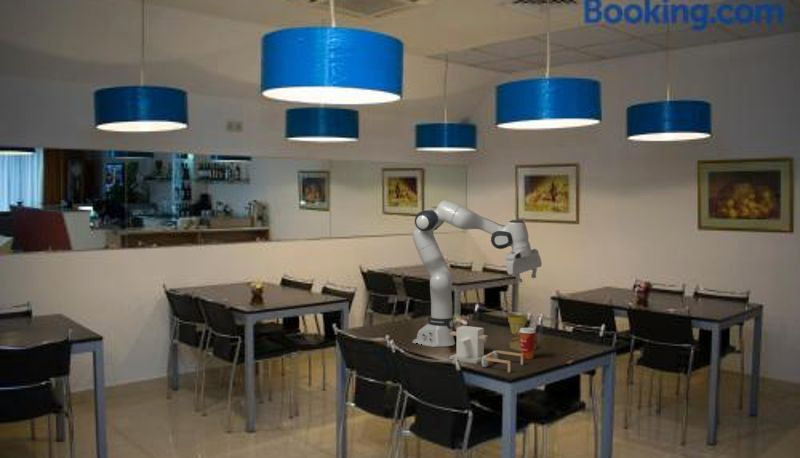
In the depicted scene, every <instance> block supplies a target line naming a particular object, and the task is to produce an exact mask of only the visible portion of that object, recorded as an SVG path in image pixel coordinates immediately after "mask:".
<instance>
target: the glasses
mask: <svg viewBox="0 0 800 458" xmlns="http://www.w3.org/2000/svg"><path fill="white" fill-rule="evenodd" d="M499 354H502V355H511V356H517V357H520V365H522V366H523V365H524V359H523V354H521V352H519V353H518V352H511V351H506V350H505V351H504V350H493V351H491V352H489V353H488V354H484V356H483V358H482V361H481V366H482V368H487V367H488V366H489V362H493V363H503V364H507V373H511V366H512V365H511V363H512V362H511V360H505V359H499ZM485 355H486V356H485Z"/></svg>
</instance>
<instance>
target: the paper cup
mask: <svg viewBox="0 0 800 458" xmlns="http://www.w3.org/2000/svg"><path fill="white" fill-rule="evenodd" d="M519 332H520V345H521V351H520V353H521V354H523V360H532V359H533V358H534V353H535V352H534V351H535V350H534V340H535V336H536V330H535V328H534V327H533V328H532V327H524V328H520V331H519Z"/></svg>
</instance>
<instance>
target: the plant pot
mask: <svg viewBox="0 0 800 458" xmlns="http://www.w3.org/2000/svg"><path fill="white" fill-rule="evenodd" d="M507 320H508V321H507V322H508V323H509V330H510V334H512V335H515V334H516V332H519V331H520V328H526V324H527V322H528V321H527V320H528V318H527V316H526V315H523V314H510V315H508V317H507Z"/></svg>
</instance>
